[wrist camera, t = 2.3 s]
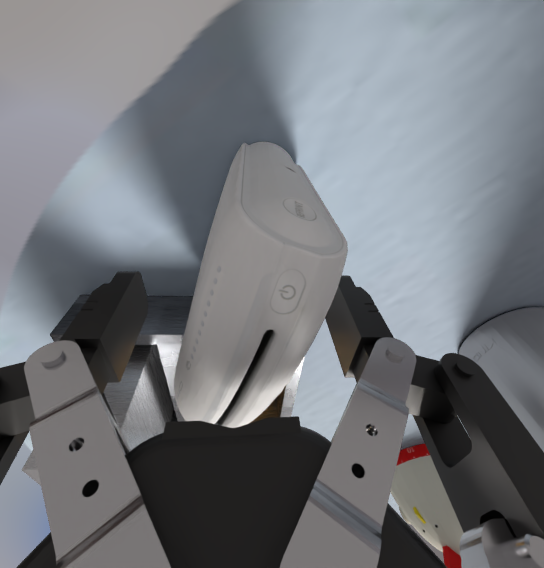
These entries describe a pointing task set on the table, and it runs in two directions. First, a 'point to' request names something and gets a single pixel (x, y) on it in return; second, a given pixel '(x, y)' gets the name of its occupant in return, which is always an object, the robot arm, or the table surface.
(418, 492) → the kitchen timer
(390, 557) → the robot arm
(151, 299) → the rack
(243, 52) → the table surface
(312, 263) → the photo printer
